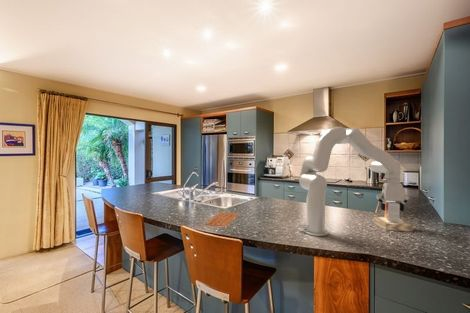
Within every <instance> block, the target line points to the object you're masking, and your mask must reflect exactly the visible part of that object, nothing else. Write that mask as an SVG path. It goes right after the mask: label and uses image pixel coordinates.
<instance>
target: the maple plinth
mask: <svg viewBox="0 0 470 313" xmlns="http://www.w3.org/2000/svg"><path fill="white" fill-rule="evenodd" d="M373 223H374V224H375V225H377V226H378V227H380V228H382V229H383V230H385V231H396V232H397V231H398V232H399V231H400V232H414V224H412V223H410V222H408V221H405V220H403V219H402V218H399V222H392V221H388V220H387V219H386V218H385V216H384V217H383V216H382V217H381V216H380V217H379V216H374V217H373Z"/></svg>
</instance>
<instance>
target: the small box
mask: <svg viewBox="0 0 470 313" xmlns="http://www.w3.org/2000/svg"><path fill="white" fill-rule="evenodd" d="M384 204H385V211H384V217H385V218H386V219H387V220H388V221H392V222H399V218H400V215H401V214H400V212H401V211H400V204H399V203H398V201H386V202H385V203H384ZM400 219H401V218H400Z"/></svg>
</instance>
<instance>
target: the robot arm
mask: <svg viewBox="0 0 470 313" xmlns="http://www.w3.org/2000/svg"><path fill="white" fill-rule="evenodd" d="M339 144H340V145H343V144H344V145H346V144H349V145H350V146H351V147H352V148H353V149H354V150H355V152H357V154H359V156H360V155H361V156H362V157H365V158H368V159H371V160H373V161H371V163H370V166H369V167H370V170H371V171H372V172H374V173H378V174H380V173H381V174H384V178H383V179H382V182H384V183H383V185H382V190H381V193H379V194H376V195H375V197H376V199H377V201H379V204H380V209H381V211H384V212H385V202H386V201H395V202H399V203H398V204H400V212H404V211H405V205H406V204H407V202H408V200H409V199H410V196H407V195H406V194H405V192H404V191H405V190H404V186H403V184H401V171H402V170H401V168H402V167H401V162H400V160H395V158H394V157H393V156H392V155H391V153H388V152H387V151H385V150H384V149H382V148H380V147H378V146H376V145H374V144H373V143H372V142H371V140H369V139H368V138H367V136H366V135H365V134H364V133H363V132H362V131H361V130H360V129H358V128H357V127H356V128H355V127H351V128H345V127H343V126H335V127H331V128H327V129H324V130H322V131H321V132H320V134H319V139H318V140H317V142H316V145H315V148H314V152H313V154H310V155H308V156H306V157H305V158H304V159H303V161H302V165H301V169H300V172H299V180H298V183H299V186H300V187H301V188H302V189H304V190H307V194H306V201H305V202H306V203H305V204H306V211H305V212H306V214H305V215H306V219H305V220H306V221H304V223H297V228H300V229H303V233H305V234H307V235H310V236H314V237H325V236H327V235H328V234H329V231H328V230H327V229H326V192H327V186H328V183H327V179H326V178H325V177H324V176H323V175H320V174H318V173H325V172H326V171H327V170H328V167H329V163H330V160H331V153H332V151H333V148H334V147H335V146H336V145H339Z"/></svg>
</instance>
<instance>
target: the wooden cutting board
mask: <svg viewBox="0 0 470 313" xmlns="http://www.w3.org/2000/svg"><path fill="white" fill-rule="evenodd" d="M238 216H239V212H238V213H237V212H223V211H222V212H221V211H220V212H218V213H217V214H216V215H214V216H213V217H212V218H211V219H209V220H208V221H207V222H205V224H204V226H208V227H209V226H210V227H220V228H221V227H222V228H228V227H229V225H231V223H232V222H233V221H234V220H235V219H236V218H237V217H238Z"/></svg>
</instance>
